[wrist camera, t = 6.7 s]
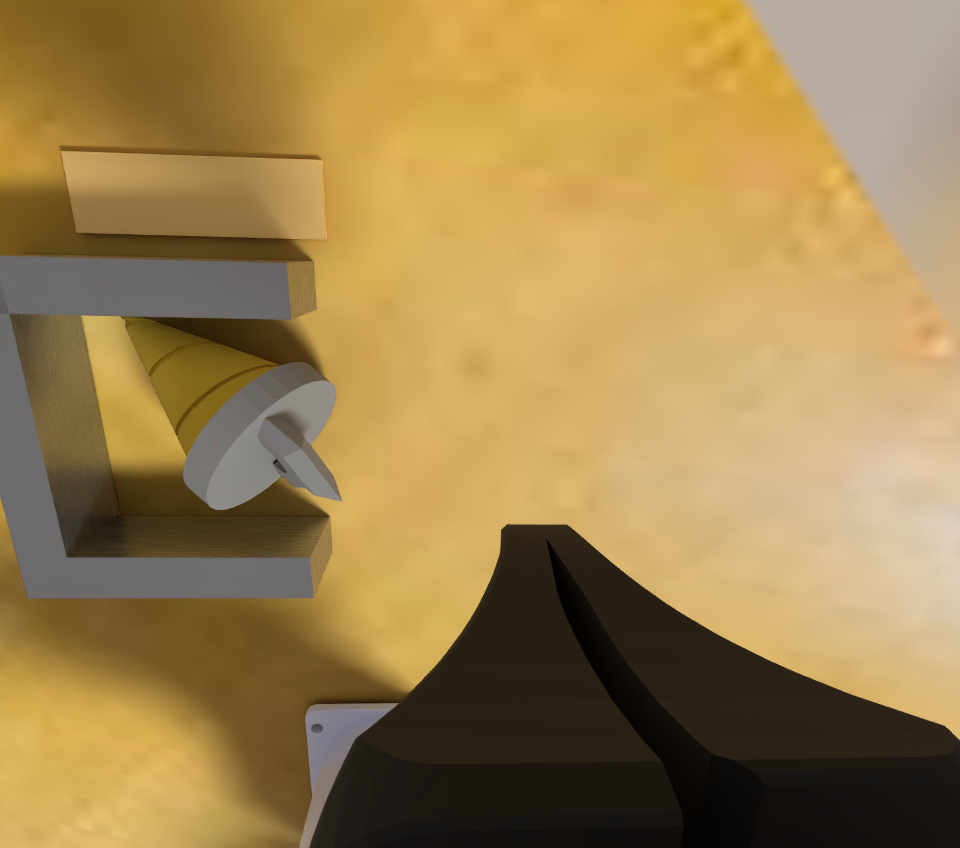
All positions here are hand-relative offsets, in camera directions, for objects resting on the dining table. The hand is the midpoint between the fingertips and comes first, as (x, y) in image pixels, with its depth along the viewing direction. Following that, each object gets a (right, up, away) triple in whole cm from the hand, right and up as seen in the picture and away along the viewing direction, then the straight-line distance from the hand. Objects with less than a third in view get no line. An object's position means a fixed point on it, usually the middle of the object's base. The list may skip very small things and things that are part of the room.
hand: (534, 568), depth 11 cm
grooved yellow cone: (-5, 0, +6) cm, 8 cm away
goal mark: (-10, +10, +7) cm, 16 cm away
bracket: (-12, +3, +9) cm, 15 cm away
